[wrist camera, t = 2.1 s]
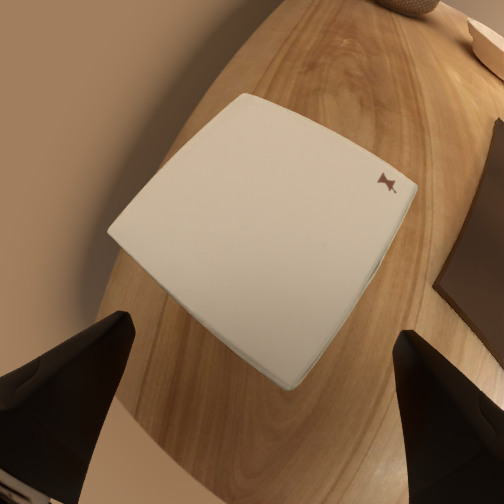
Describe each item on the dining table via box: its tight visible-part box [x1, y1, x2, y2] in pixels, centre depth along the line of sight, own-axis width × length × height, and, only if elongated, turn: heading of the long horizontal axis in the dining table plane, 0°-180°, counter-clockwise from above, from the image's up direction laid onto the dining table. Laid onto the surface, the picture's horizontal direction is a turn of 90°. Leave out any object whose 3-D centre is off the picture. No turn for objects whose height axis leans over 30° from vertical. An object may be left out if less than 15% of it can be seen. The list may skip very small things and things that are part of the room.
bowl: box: [467, 18, 504, 81], centre depth 25 cm, size 21×21×8 cm
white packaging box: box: [108, 93, 418, 391], centre depth 13 cm, size 7×7×13 cm
